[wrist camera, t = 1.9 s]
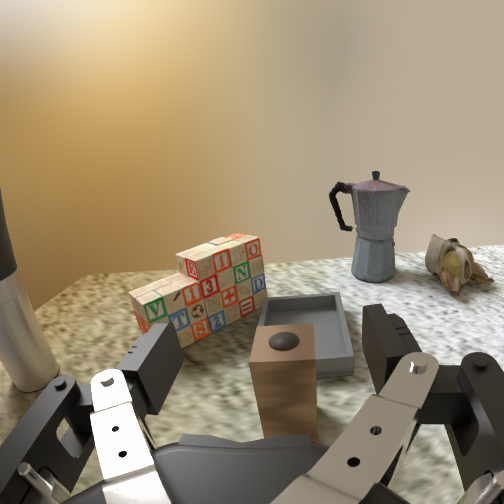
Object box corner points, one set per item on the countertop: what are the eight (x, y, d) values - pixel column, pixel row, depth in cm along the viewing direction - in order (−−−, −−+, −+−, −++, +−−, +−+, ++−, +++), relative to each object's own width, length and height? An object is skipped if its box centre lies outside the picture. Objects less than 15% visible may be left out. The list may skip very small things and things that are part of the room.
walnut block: (265, 442, 26) (248, 360, 22) (270, 407, 30) (256, 325, 27) (316, 441, 25) (315, 357, 21) (316, 405, 30) (313, 321, 26)
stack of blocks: (160, 360, 41) (134, 284, 37) (144, 343, 46) (121, 273, 42) (269, 303, 54) (260, 235, 50) (246, 294, 58) (236, 231, 54)
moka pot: (412, 283, 51) (413, 172, 44) (331, 284, 56) (323, 176, 50) (405, 263, 59) (404, 167, 53) (335, 265, 65) (328, 170, 58)
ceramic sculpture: (452, 223, 52) (501, 250, 39) (448, 261, 56) (492, 294, 42) (412, 230, 52) (461, 261, 38) (410, 271, 55) (452, 309, 42)
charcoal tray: (253, 380, 35) (249, 362, 34) (266, 313, 50) (263, 297, 49) (353, 374, 33) (354, 355, 32) (339, 308, 48) (339, 291, 47)
